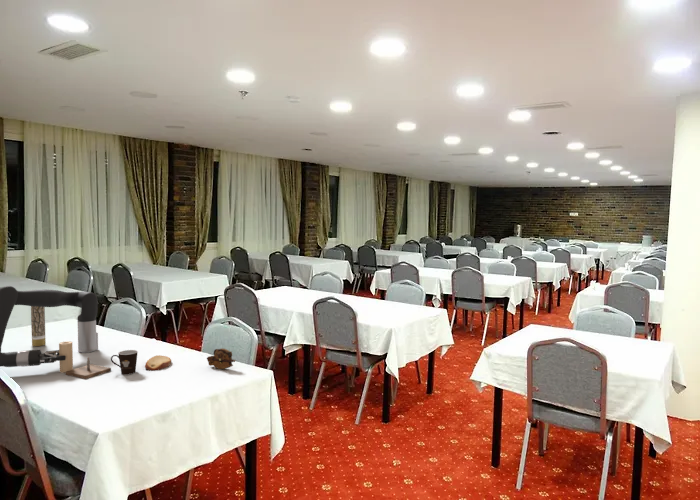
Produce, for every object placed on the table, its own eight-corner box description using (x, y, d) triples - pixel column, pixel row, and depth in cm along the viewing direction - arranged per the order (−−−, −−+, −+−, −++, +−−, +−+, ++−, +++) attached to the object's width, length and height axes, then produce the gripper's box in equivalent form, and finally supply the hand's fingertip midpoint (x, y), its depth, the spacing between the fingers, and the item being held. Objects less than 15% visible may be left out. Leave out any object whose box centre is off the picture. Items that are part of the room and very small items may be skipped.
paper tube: (39, 347, 296) (38, 304, 294) (29, 346, 297) (27, 303, 295) (48, 344, 302) (47, 302, 300) (38, 343, 304) (37, 301, 302)
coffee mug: (141, 370, 253) (141, 350, 252) (129, 376, 245) (128, 355, 244) (123, 368, 257) (122, 348, 256) (109, 373, 249) (109, 353, 248)
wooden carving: (204, 368, 259) (204, 348, 259) (209, 365, 264) (209, 346, 263) (232, 371, 254) (232, 351, 253) (237, 369, 258) (237, 349, 257)
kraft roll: (67, 368, 255) (67, 340, 254) (75, 370, 253) (74, 342, 252) (57, 371, 250) (56, 343, 250) (64, 373, 248) (64, 344, 247)
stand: (91, 366, 259) (91, 352, 258) (110, 370, 253) (110, 355, 252) (65, 374, 246) (65, 359, 245) (85, 378, 240) (85, 363, 239)
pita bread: (161, 358, 277) (161, 351, 277) (183, 364, 267) (182, 356, 266) (131, 366, 262) (131, 358, 262) (152, 372, 252) (152, 365, 252)
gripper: (25, 354, 239) (64, 351, 244) (32, 346, 253) (69, 344, 258) (25, 370, 240) (64, 367, 245) (33, 361, 253) (70, 359, 258)
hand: (67, 355), depth 251 cm, fingers open, 8 cm apart
